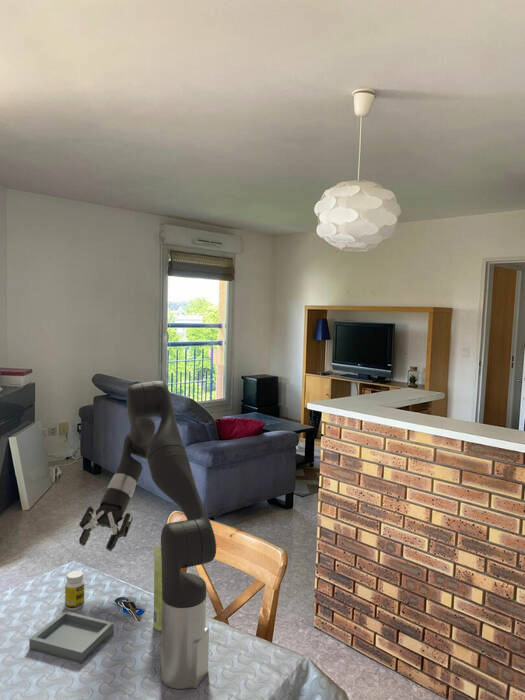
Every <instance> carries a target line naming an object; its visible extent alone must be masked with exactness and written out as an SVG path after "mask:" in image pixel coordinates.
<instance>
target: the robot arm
mask: <svg viewBox="0 0 525 700" xmlns="http://www.w3.org/2000/svg"><path fill="white" fill-rule="evenodd" d="M169 390H170V389H169V387H168V385H167V383H165V382H164V381H162V380H153V381H145V382H140V383H135V384H132V385H130V386H129V387H127V391H126V394H125V395H126V408H127V415H128V420H129V425H130V430H129V431H128V433H127V434H126V435H125V437H124V441H123V446H122V454H121V458H120V461H119V464H118V466H117V468H116V470H115V473H114V474H113V476H112V477H111V480H110V482H109V483H108V486H107V488H106V490H105V492H104V494H103V497H102V499H101V500H100V505H99V507H98V508H97V509H96V508H93V507H92V506H88V507H87V509H86V510H85V513H84V515H83V516H82V518H81V520H80V522H79V523H78V524H79V527H80V528H81V529H82V533H81V534H80V537H79V540H78V541H79V544H80V545H81V546H83V547H84V546H86V544H87V542H88V540H89V537H90V536H91V532H93V531H94V530H95V529H98V528H100V527H101V528H108V529H111V531H112V534H111V535H110V537H109V539H108V542H107V544H106V547H105V548H106V550H107V551H109V552H111V551H112V550H114V549H115V548H116V544H117V542H118V540H119V539H120V538H122V537H123V538H126V537H127V536H128V533H129V530H130V527H131V525H132V521H133V516H132V515H131V513H129V512H126V510H127V508H128V506H129V503H130V502H131V499H132V497H133V496H134V492H135V490H136V486H137V483H138V481H139V478H140V476H141V474H142V471H143V465H142V463H141V462H139V461H138V460H137V459H135V458H134V457H133V456H132V455H134V456H136V457H139V458H142V459H146V460H147V464H148V467H149V472H150V476H151V479H152V481H153V483H154V484H155V486H156V487H157V488H158V489H159V490H160V491H161V492H162V493H163V494H165V496H167V497H168V498H169V499H170V500H172V501H173V503H175V505H177V506H178V507H179V508H180V510H181V511H182V512H183V514H184V517H186V520H181V521H173V522H169V523H166V524H165V525H164V526H163V528H162V530H161V533H160V547H161V561H162V631H161V640H160V641H161V643H160V647H161V649H160V678H161V681H162V683H163V684H164V685H166V686H167V687H169V688H171V689H177V690H178V689H179V690H182V689H183V690H185V689H190V688H193V689H197V688H198V687H199V685H200V683H201V682H202V680H203V679H204V678H205V676H206V674H207V673H208V671H209V651H210V650H209V649H210V645H209V643H210V642H209V641H210V629H209V627H206V626H207V625H206V622H207V621H206V620H207V619H206V618H207V615H206V614H207V583H206V581H205V579H204V578H202V577H201V576H199V575H197V574H194V573H190V572H185V571H182V569H186V568H190V567H197V566H200V565H205V564H208V563H211V562H212V561H213V560H214V559H215V558H216V555H217V541H216V536H215V532H214V529H213V526H212V523H211V521H210V517H209V516H208V513H207V510H206V509H205V506H204V503H203V501H202V499H201V496H200V494H199V491H198V489H197V484H196V481H195V478H194V475H193V471H192V467H191V464H190V459H189V457H188V454H187V451H186V450H187V449H186V447H185V445H184V442H183V440H182V439H183V438H182V435H181V433H180V430H179V427H178V423H177V419H176V416H175V410H174V407H173V402H172V398H171V392H170V391H169ZM158 416H159V417H160V423H159V425H158V429H157V431H156V424H155V421H154V419H153V418H154V417H158ZM152 417H153V418H152ZM155 431H156V432H155ZM125 512H126V513H125ZM120 521H122V524H121V526H120V525H119V523H120Z"/></svg>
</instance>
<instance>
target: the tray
mask: <svg viewBox="0 0 525 700" xmlns="http://www.w3.org/2000/svg"><path fill="white" fill-rule="evenodd" d="M114 624H115V623H114V622H113V621H108V620H104V619H101V618H95V617H93V616H88V615H84V614H81V613H75V612H72V611H67V610H64V611H63V612H61V613H60V614H59V615H57V616H56V617H55V618H54V619H52V620H51V621H50V622H49V623H48V624H45V626H43V627H42V628H41V629H39V631H37V632H36V633H35V634H34V635H32V636H31V637H30V638H29V639H28V640H29V646H28V647H29V650H30V651H33V652H38V653H42V654H45V655H48V656H52V657H56V658H60V659H63V660H67V661H71V662H74V663H77V664H83V663H84V662H85V661H86V660H88V659H89V658H90V657H91V656H92V655H93V654H94V652H95V651H96V650H98V648H100V647H101V646H102V644H104V643H105V642H106V641H107V640H108V638H110V637H111V636H112V635H113V634H114V631H115V627H114Z"/></svg>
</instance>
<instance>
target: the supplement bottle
mask: <svg viewBox="0 0 525 700" xmlns="http://www.w3.org/2000/svg"><path fill="white" fill-rule="evenodd" d="M84 605H85V580H84V572H83V571H81V570H73V571H70V572H68V573H67V574H66V582H65V584H64V607H65V609H66V610H69V611H75V610H79V609H82V607H83V606H84Z"/></svg>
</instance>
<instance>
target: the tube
mask: <svg viewBox="0 0 525 700" xmlns="http://www.w3.org/2000/svg"><path fill="white" fill-rule="evenodd" d="M153 565H154V566H153V571H154V572H153V578H154V579H153V624H152V625H153V628H154V629H155V630H157V631H158V632H162V561H161V546H159V545H153Z"/></svg>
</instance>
